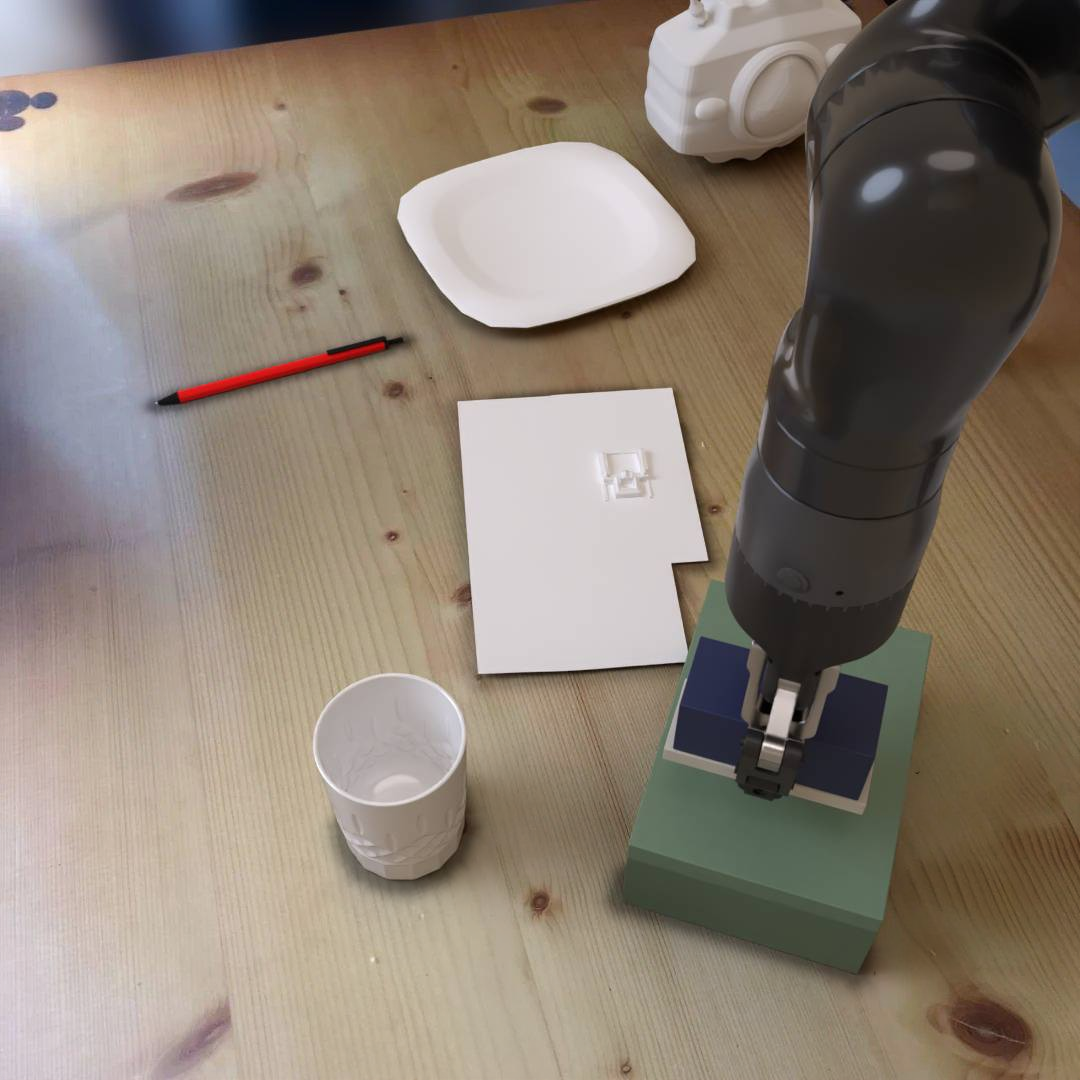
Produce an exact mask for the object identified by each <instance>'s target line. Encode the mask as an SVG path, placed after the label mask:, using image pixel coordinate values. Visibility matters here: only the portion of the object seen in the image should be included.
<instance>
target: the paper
mask: <svg viewBox="0 0 1080 1080" xmlns="http://www.w3.org/2000/svg"><path fill="white" fill-rule="evenodd" d="M456 403H457V413H458V414H457V415H458V427H459V428H458V430H459V431H458V432H459V441H460V442H459V444H460V455H461V458H460V459H461V469H462V483H463V484H462V485H463V498H464V499H463V501H464V512H465V513H464V514H465V526H466V527H465V528H466V537H467V553H468V564H469V578H470V592H471V593H470V594H471V603H472V604H471V605H472V619H473V629H474V630H473V631H474V641H475V642H474V643H475V654H476V664H477V675H484V674H486V675H487V674H488V675H489V674H509V673H510V674H513V673H538V672H539V673H541V672H543V673H545V672H568V671H584V670H585V671H586V670H599V669H600V670H601V669H613V668H614V669H615V668H625V667H637V666H638V667H639V666H650V665H663V664H675V663H676V664H677V663H685V661H686V657H687V654H688V651H689V648H688V645H687V639H686V635H685V629H684V625H683V624H684V623H683V619H682V613H681V608H680V603H679V597H678V593H677V587H676V582H675V576H674V571H673V567H672V566H673V565H672V564H676V563H677V564H678V563H679V564H680V563H692V562H693V563H694V562H695V563H696V562H707V561H709V558H708V557H709V556H708V551H707V547H706V543H705V537H704V533H703V529H702V524H701V520H700V519H701V518H700V514H699V509H698V505H697V501H696V500H697V499H696V495H695V491H694V487H693V482H692V481H693V480H692V476H691V472H690V467H689V463H688V458H687V453H686V448H685V442H684V438H683V434H682V429H681V425H680V424H681V423H680V420H679V416H678V415H679V413H678V411H677V406H676V401H675V396H674V392H673V387H660V388H645V389H630V390H628V389H627V390H616V391H615V390H611V391H597V392H596V391H595V392H581V393H564V394H563V393H562V394H551V395H545V396H544V395H542V396H541V395H540V396H528V397H527V396H526V397H525V396H524V397H512V398H511V397H510V398H494V399H493V398H492V399H491V398H490V399H476V400H475V399H474V400H459V401H457V402H456Z"/></svg>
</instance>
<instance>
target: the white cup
mask: <svg viewBox="0 0 1080 1080" xmlns="http://www.w3.org/2000/svg"><path fill="white" fill-rule="evenodd" d="M467 746H468V731H467V723H466V719H465V717H464V714H463V711H462V709H461V707H460V705H459V704H458V702H457V701H456V699H455V698H454V697H453V696H452V695H451V694H450V693H449V692H448V691H447V690H446V689H445V688H444V687H442V685H440V684H437V682H434V681H432V680H431V679H428V678H426V677H424V676H420V675H416V674H412V673H407V672H385V673H384V672H383V673H377V674H374V675H370V676H366V677H364V678H361V679H359V680H357V681H354V682H353V683H351V684H349V685H347V686H346V687H345V688H343V689H342V690H340V691H339V692H338V693H337V694H336V695H335V696H333V697H332V698H331V700H330V701H329V702H328V703H327V704H326V706H325V707H324V708H323V710H322V712H321V713H320V715H319V716H318V719H317V721H316V724H315V727H314V731H313V735H312V753H313V758H314V762H315V764H316V768H317V770H318V773H319V776H320V778H321V782H322V784H323V787H324V790H325V793H326V795H327V798H328V801H329V803H330V806H331V809H332V811H333V814H334V816H335V818H336V821H337V823H338V825H339V828H340V829H341V832H342V834H343V835H344V837H345V840H346V843H347V846H348V849H349V850H350V851H351V853H352V854H353V855H354V857H355V858H356V859H357V861H358V862H359V864H360V865H361V866H362V867H363V869H365V870H367V871H368V872H372V873H374V874H375V875H377V876H380V877H382V878H384V879H386V880H409V881H411V880H417V879H420V878H421V877H424V876H427V875H428V874H430V873H433V872H435V871H438V870H440V869H441V868H442V867H443V866H444V864H445V863H446V862H448V860H449V859H450V858H451V857H452V856H453V855H454V854H455V853H456V852H457V850H458V849H459V845H460V842H461V838H462V835H463V832H464V829H465V826H466V825H465V824H466V823H465V821H466V820H465V817H466V816H465V812H466V805H467V804H466V803H467V784H468V767H467V766H468V763H467V762H468V759H467V756H468V755H467V754H468V752H467V751H468V750H467V749H468V747H467Z"/></svg>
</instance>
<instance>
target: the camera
mask: <svg viewBox="0 0 1080 1080" xmlns="http://www.w3.org/2000/svg"><path fill="white" fill-rule="evenodd" d="M689 2H690V3H689V7H688V9H686V10H684V11H682V12H680V13H679V14H677V15H675V16H673V17H672V18H670V19H668V20H667V21H665V22H663V23H662V24H660V25H659V26H657V28H655V31H654V33H653V35H652V36H653V37H652V40H651V42H650V45H649V49H648V59H649V63H648V69H647V74H646V89H645V92H644V98H643V99H644V105H645V106H644V107H645V112H646V113H645V114H646V118H647V122H648V123H649V124H650V125H651V127H652V128H653V129H654V130H655V132H656V133H657V134H658V136H660V138H661V139H662V140H663V141H664V142H665V143H666V145H668V146H669V147H670V148H671V149H672V150H673V151H674V152H676V153H678V154H681V155H687V156H694V157H695V156H696V157H697V156H698V157H703V158H704V159H705V160H706V161H708V162H709V163H711V164H721V163H725V162H728V161H730V160H732V159H744V160H748V161H755V160H756V159H757V160H758V158H760V157H762V155H764V154H765V153H766V152H768V151H771V149H774V148H782V147H784V146H786V145H788V144H791V143H792V142H793V141H795V140H797V138H799V137H801V136H802V135H803V134H805V126H806V119H807V114H808V110H809V106H810V103H811V100H812V97H813V95H814V93H815V90H816V88H817V86H818V84H819V82H820V80H821V78H822V77H823V75H824V74H825V72H826V71H827V69H828V68H829V67H830V65H831V64H832V62H833V61H834V60H835V59H836V57H837V56H838V55H839V54H840V53H841V51H842V50H843V49H844V48H845V47H846V46H847V44H848V43H849V42H850V41H851V40H852V39H853V38H854V37H855V36H856V35H857V34H858V33H859V32H860V31H861V30H862V20H861V19H860V17H859V15H857V14H856V13H855V12H854V10H852V9H851V8H850V7H849V6H848V5H846V4H845V3H844V2H843V1H842V0H700V1H699V0H689Z"/></svg>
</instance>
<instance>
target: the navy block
mask: <svg viewBox="0 0 1080 1080" xmlns="http://www.w3.org/2000/svg"><path fill="white" fill-rule="evenodd" d="M749 653H750V649H748V648H745V647H741V646H737V645H733V644H729V643H726V642H722V641H718V640H714V639H710V638H707V637H703V636H701V637H700V639H699V642H698V645H697V649H696V652H695V655H694V659H693V662H692V665H691V668H690V672H689V675H688V678H686V679H685V681H684V685H683V688H682V691H681V695H680V698H679V701H678V704H677V708H676V711H675V714H674V718H673V721H672V724H671V727H670V731H669V734H668V737H667V741H666V744H665V747H664V752H663V759H666V760H669V761H673V762H677V763H680V764H684V765H687V766H691V767H694V768H698V769H701V770H705V771H708V772H712V773H715V774H719V775H722V776H726V777H729V778H733V779H736V775H737V774H734V770H735V766H736V763H739V761H740V757H741V753H742V749H743V748H741V747H739V746H740V742H741V738H742V735H744V736H746V733H747V729H748V727H749V725H748V723H747V722H745V721H744V720H743V719H742V717H741V711H742V707H743V702H744V698H745V694H746V690H747V686H748V682H749V678H750V672H749V670H748V669H747V661H748V657H749ZM766 665H767V664H765V666H764V670H763V674H762V678H761V682H760V687H759V689H760V692H761V685H762V681H763V677H764V673H765V669H766ZM887 692H888V685H885V684H882V683H878V682H874V681H870V680H866V679H862V678H859V677H855V676H851V675H847V674H843V673H839V677H838V680H837V683H836V687H835V689H834V690H833V691H832V692H830V693H829V694H827V697H826V700H825V703H824V707H823V710H822V714H821V717H820V721H819V724H818V728H817V731H816V734H815V736H813V737H812V738H809V739H804V743H805V746H804V751H803V752H806V757H805V761H804V764H801V763H800V766H799V770H798V772H797V775H796V777H795V779H796V780H795V785H794V788H793V790H790V792H789V795H793V796H796V797H800V798H804V799H807V800H811V801H814V802H818V803H821V804H825V805H828V806H832V807H835V808H839V809H842V810H846V811H849V812H853V813H856V814H860V815H862V814H863V812H864V809H865V807H866V803H867V798H868V792H869V787H870V782H871V776H872V771H873V766H874V760H875V757H876V751H877V746H878V741H879V735H880V730H881V724H882V719H883V714H884V708H885V703H886V698H887ZM761 693H762V692H761ZM761 728H764V729H766V728H767V727H761ZM788 735H789V736H791V735H790V734H788Z"/></svg>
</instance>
